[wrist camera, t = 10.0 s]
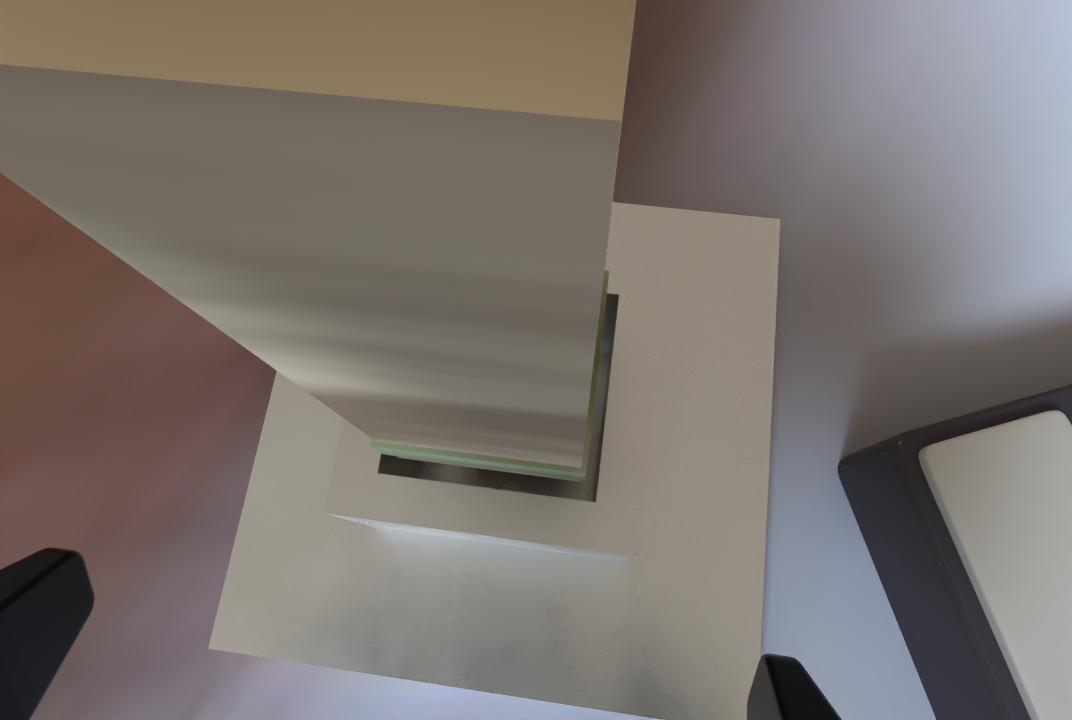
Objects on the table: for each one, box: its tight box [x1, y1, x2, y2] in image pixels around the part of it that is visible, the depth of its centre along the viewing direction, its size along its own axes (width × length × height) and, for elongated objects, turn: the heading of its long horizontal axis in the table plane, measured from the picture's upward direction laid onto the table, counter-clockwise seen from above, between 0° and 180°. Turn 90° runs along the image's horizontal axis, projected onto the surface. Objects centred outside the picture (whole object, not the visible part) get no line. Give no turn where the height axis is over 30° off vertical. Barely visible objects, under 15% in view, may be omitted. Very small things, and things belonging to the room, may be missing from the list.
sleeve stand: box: [209, 202, 781, 720], centre depth 19 cm, size 14×14×6 cm
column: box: [0, 0, 636, 482], centre depth 10 cm, size 4×4×13 cm
